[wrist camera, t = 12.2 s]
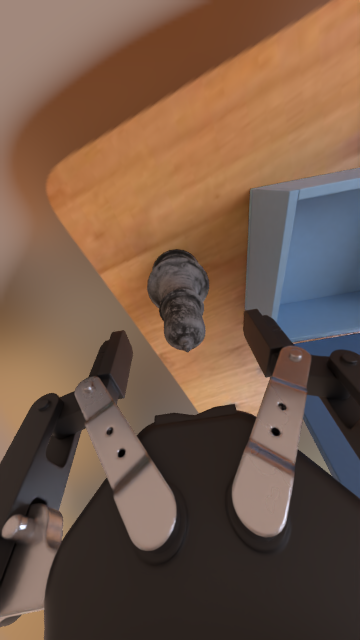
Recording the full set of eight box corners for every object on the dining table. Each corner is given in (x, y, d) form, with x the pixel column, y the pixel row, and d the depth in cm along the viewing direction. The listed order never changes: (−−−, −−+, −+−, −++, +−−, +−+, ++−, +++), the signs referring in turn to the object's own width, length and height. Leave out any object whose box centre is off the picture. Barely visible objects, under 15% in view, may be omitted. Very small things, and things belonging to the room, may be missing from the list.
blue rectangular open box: (249, 188, 17) (289, 191, 12) (438, 152, 17) (570, 137, 11) (244, 311, 25) (267, 346, 19) (372, 289, 24) (432, 319, 19)
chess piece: (197, 239, 19) (233, 297, 9) (206, 290, 23) (240, 372, 13) (141, 254, 20) (120, 325, 10) (158, 302, 23) (155, 390, 13)
